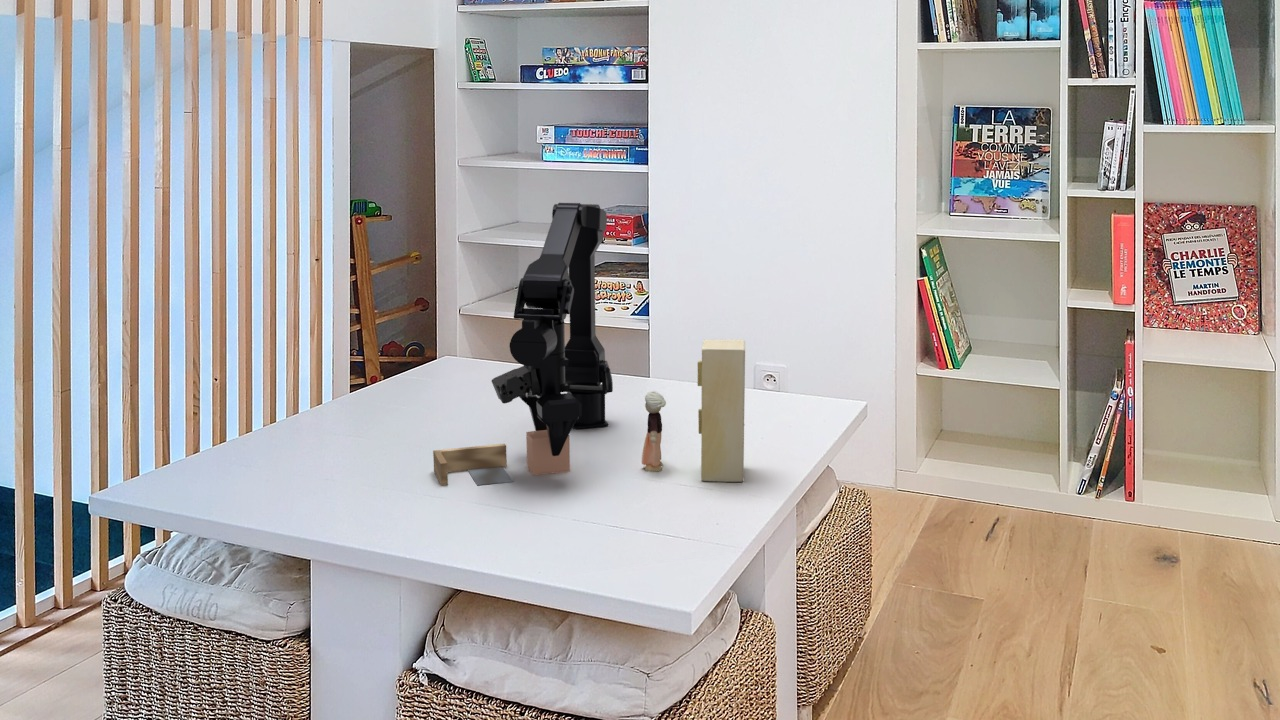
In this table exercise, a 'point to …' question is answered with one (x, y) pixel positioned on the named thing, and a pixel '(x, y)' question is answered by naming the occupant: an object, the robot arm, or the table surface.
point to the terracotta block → (545, 454)
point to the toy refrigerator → (722, 409)
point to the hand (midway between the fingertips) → (548, 447)
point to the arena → (473, 463)
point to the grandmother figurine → (653, 432)
